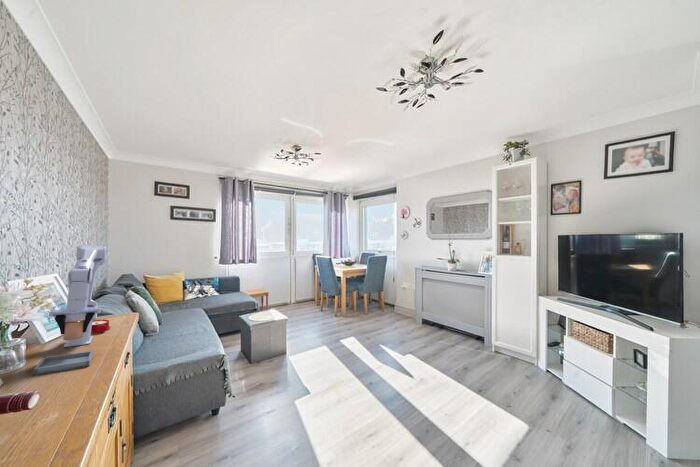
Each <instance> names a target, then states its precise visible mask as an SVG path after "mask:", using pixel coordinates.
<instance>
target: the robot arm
mask: <svg viewBox="0 0 700 467" xmlns="http://www.w3.org/2000/svg"><path fill="white" fill-rule="evenodd" d="M107 250H108V249H107V246H105V245H103V246H100V245H82V244H80V245H78V246H77V248H76V252H75V256H76V262H75V265H74V267H73V268H72V269H69V271H68V274H67V288H68V292H67V293H68V294H67V301H66V308H65V309H57V310H56V309H55V310H49V311H48V318H53V317H54V320H55V322H56V325H57V326H58V327H59V331H60V335H61V336H63V335H64V327H65V322H66V321H70V320H76V319H84V320H85V325H84V330H83V332H84V334H83V337H82V338H80V339H75V340H66V342H65V343H64V345H63V348H67V347H73V346H74V347H75V346H76V347H77V346H85V345H90V344H91V342H92V340H93V338H94V336H92V333H91V327H92V321H94V320H97V318H98V314H101V313H102V307H99V304H98V302H97V301H95V300H93V299H92V297H93V296H92V295H93V291H94V286H95V279H96V274H97V271H98V268H99V267H100V266H103V265H104V264H105V262H106V257H107Z"/></svg>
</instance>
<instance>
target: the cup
mask: <svg viewBox="0 0 700 467" xmlns="http://www.w3.org/2000/svg"><path fill="white" fill-rule="evenodd" d="M84 325H85V320H84V319H76V320H70V321H66V322H65V327H64V334H63V335H62V336H63V337H62V340H63V341H67V340H75V339H80V338H82V337H83V334H84V332H83V330H84Z"/></svg>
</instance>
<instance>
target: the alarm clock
mask: <svg viewBox="0 0 700 467" xmlns="http://www.w3.org/2000/svg"><path fill="white" fill-rule="evenodd" d="M108 330H111V327H110V320H109V319H95V320H94V321H92V327H91V334H96V333H97V334H103V333H105V332H106V331H108Z"/></svg>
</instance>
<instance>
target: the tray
mask: <svg viewBox="0 0 700 467" xmlns="http://www.w3.org/2000/svg"><path fill="white" fill-rule="evenodd" d="M94 354H95V350H90V351H89V350H88V351H82V352H73V353H67V354H58V355H51V356H44V357H42V359H41V360H40V361H39V362H38V364H37V365H36V366H35V367H34V369H33V374H32V375H33V376H38V375H44V374H51V373H55V372H60V371H61V372H62V371H68V370H73V369H74V370H76V369H80V368H87V367H90V365H91V362H92V360H93V357H94Z"/></svg>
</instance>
